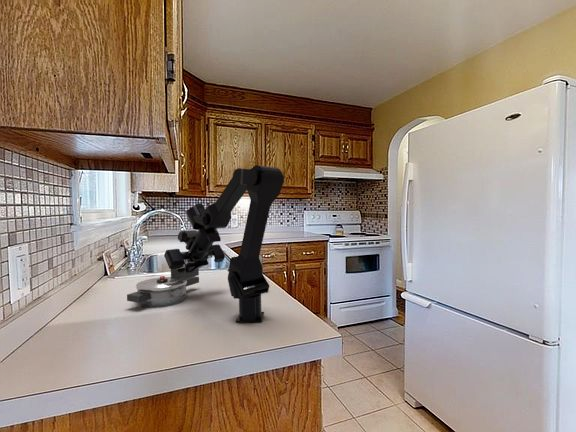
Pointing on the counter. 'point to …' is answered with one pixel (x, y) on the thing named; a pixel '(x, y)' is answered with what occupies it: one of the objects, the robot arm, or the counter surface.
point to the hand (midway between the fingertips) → (188, 271)
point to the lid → (167, 281)
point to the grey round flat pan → (161, 296)
